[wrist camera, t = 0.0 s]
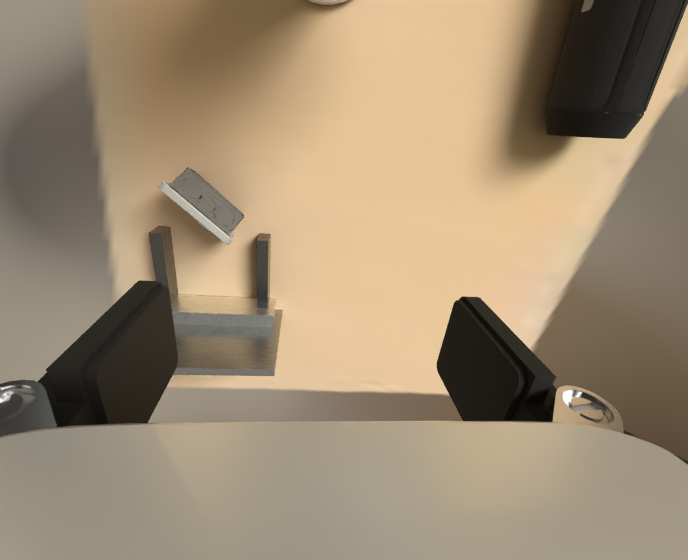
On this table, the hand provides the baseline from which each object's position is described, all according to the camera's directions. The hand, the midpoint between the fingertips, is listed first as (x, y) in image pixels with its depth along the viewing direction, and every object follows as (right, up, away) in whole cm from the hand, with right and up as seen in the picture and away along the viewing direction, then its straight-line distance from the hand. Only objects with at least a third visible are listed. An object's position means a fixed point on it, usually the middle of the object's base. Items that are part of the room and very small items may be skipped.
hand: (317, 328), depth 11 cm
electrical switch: (-17, +13, +33) cm, 39 cm away
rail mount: (-18, +3, +38) cm, 42 cm away
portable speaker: (+30, +33, +29) cm, 53 cm away
